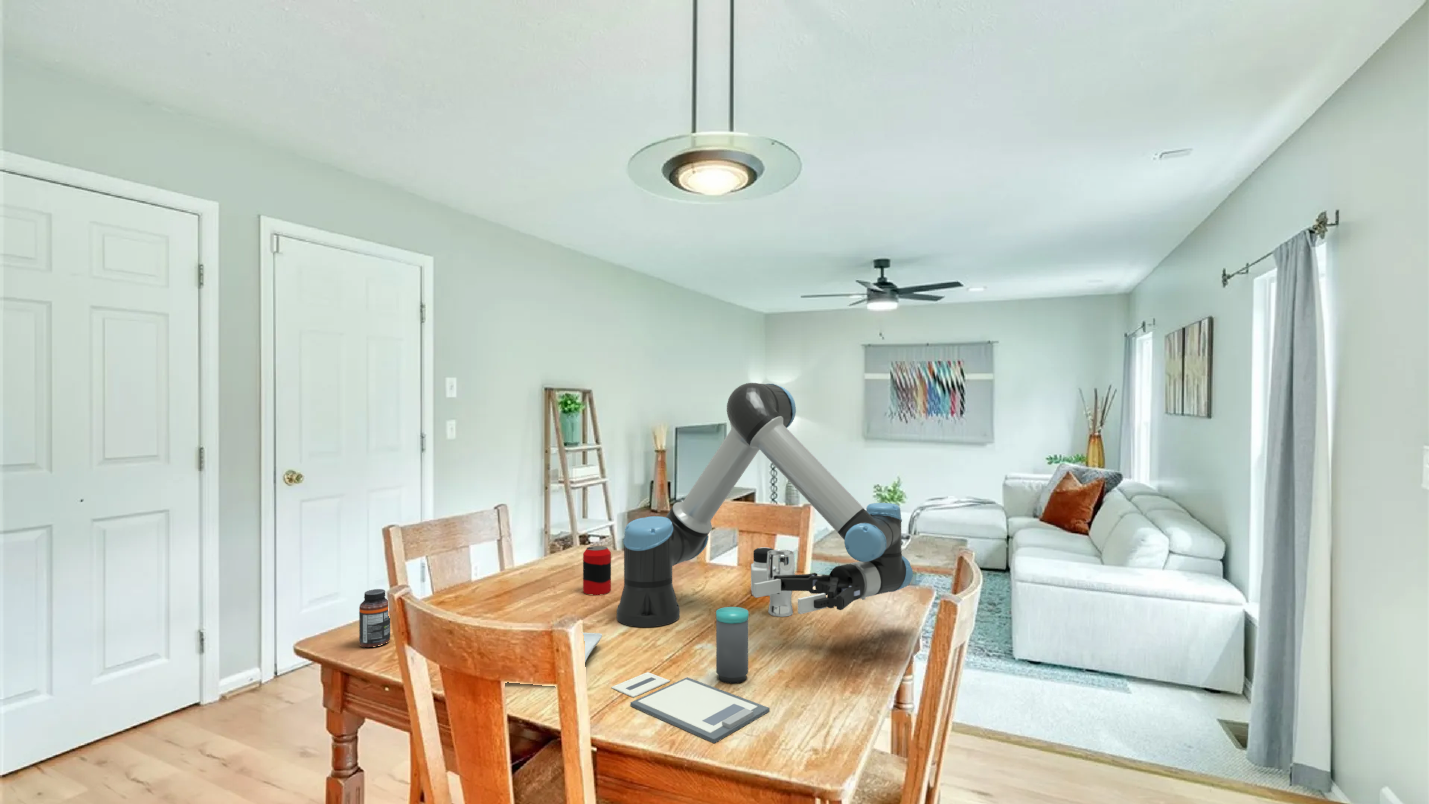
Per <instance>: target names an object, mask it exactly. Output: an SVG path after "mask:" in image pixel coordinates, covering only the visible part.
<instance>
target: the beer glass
mask: <svg viewBox="0 0 1429 804" xmlns="http://www.w3.org/2000/svg"><path fill="white" fill-rule="evenodd" d="M795 563H796V562H795V553H794V551H792V550H789V549H781V548H780V549H774V550H770V551H768V552H767V581H770V580H774V576H775V575H777V576H778V575H796V574H795V573H796V571H795V570H796V567H795V565H796V564H795ZM792 594H793V591H781V593H780V594H777V593H776V594H771V595H770V596H769V605H768V609H767V610H768V611H767V612H768V614H769V616H773V617H779V618H780V617H781V618H784V617H791V616H792V615H793V614H794V609H793V605H792V604H793V602H792V596H793V595H792Z"/></svg>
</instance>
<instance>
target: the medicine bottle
mask: <svg viewBox="0 0 1429 804" xmlns="http://www.w3.org/2000/svg"><path fill="white" fill-rule="evenodd" d="M770 550H775V549H773V548H772V547H764V546H763V547H757V548H754V550H753V563H750V589H751V596H752V597H754V584H755V583H760V582H765V581H767V552H768V551H770ZM767 597H770V595H767Z"/></svg>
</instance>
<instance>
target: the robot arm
mask: <svg viewBox="0 0 1429 804" xmlns="http://www.w3.org/2000/svg"><path fill="white" fill-rule="evenodd" d="M796 412H797V408H796V402H795V399H794V397H793V395H792V394H791V392H789V390H787V389H786V388H785V387H783V386H781V385H777V384H775V383H759V382H758V383H757V382H747V383H744V384H741V385H739V386H737V387H736V388H735V389H734V390H733V391H732V392H731V394H730V395H729V397H728V400H727V403H726V414H727V418H728V420H729V424H730V431H729V432H728V434H727V435H726V436H725V438H724V440H723V441H722V442H721V444H720V446H719V447H718V449H717V450H716V451H715V453H714V455H713V456H712V458H711V459H710V461H709V462H708V464H707V465H706V466H705V468H704V469H703V471H702V472H701V474H700V476H699V477H698V478H697V480H696V481H695V483H694V485H693V486H692V488H691V489H690V490H689V492H688V494H686V497H684V499H683V501H677V502H675V503H674V504H673V506H672V507H671V508H670V509H669V512H668V513H667V515H666V516H654V515H652V516H651V515H650V516H645V517H639V518H636V519H634V520H631V521H630V522H628V523H627V524H626V526H625V527H624V532H623V533H624V535H623V539H622V540H623V541H622V542H623V587H622V588H623V589H622V592H621V596H620V600H619V604H618V605H617V608H616V621H618V622H619V623H621V624H623V625H626V626H631V627H636V628H637V627H638V628H651V627H653V628H654V627H660V626H665V625H669V624H672V623H675V622H677V621H678V620H679V619H680V605H679V603H678V599H677V597H676V593H675V589H674V586H673V585H674V584H673V567H674V566H676V565H678V564H682V563H684V562H687V561H690V560H693V559H695V558H696V557H697V556H698V555H700V554H701V553H702V552H703V551H704V550H705V549H706V547H707V546H708V542H709V534H710V533H711V531H712V528H713V526H712V522H711V520H712V519H713V517H714V516H715V515H716V514H717V512H718V511H719V510H720V508H721V506H722V505H723V504H724V502H725V501H726V499H727V498H728V496H729V495H730V493H731V492H732V490H733V488H734V487H735V486H736V484H737V483H738V482H739V480H740V479H741V477H742V475H743V474H744V473H745V472H746V470H747V468H748V467H749V466H750V464H751V463H752V461H753V460H754V458H755V457H756V456H757V454H758V453H759V451H760V452H761V453H763V455H764V456H765V457H766V459H768V460H769V461H770V462H771V463H772V465H774V467H776V468H777V470H778V471H779V472H780V473H781V474H782V475H783V476H784V477H785V479H787V480H788V481H789V482H790V484H791V485H792V486H793V488H795V489H796V490H797V491H798V492H799V494H801V495H802V496H803V498H805V500H806V501H807V502H808V503H809V504H810V505H811V506H812V507H813V508H814V509H815V510H816V511H817V512H818V514H820V516H821V517H822V518H823V519H824V520H825V521H826V522H827V523H828V524H829V525H830V526H831V528H832V529H834V531H835V532H836V533H837V534H839V536H840V537H841V538H842V540H844V547H845V550H846V552H847V553H848V555H849V556H850V557H851V558H852V559H854V560H855V561H854V562H851V563H846V564H839V565H837V566H835V567H833V568H832V570H831V571H830V572H829V574H821V575H818V573H816V572H811V573H806V574H805V573H803V574H795V575H778V576H777V575H775V576H774V580H770V581H765V582H760V583H755V584H754V596H753V597H754V598H761V597H766V596H767V595H771V594H776V593H777V594H780V593H781V591H792V592H809V593H810V594H812V595H809V596H804V597H798V598H797V613H798V614H800V615H803V614H807V613H811V612H815V611H818V610H823V609H827V608H828V609H834V608H835V607H836V610H837V611H843V610H844V609H845V608H847V607H848V606H849V605H850V604H851V603H853V602H854V601H857V600H859V599H860V600H866V598H869V597H873V596H876V595H880V594H881V595H883V594H886V593H893V592H896V591H899V590H902V589H904V588H906V587H907V586H909V585H910V584H911V582H912V580H913V576H914V571H913V567H912V566H911V562H910V561H909V560H908V559H907V557H905V556H904V555H903V553H902V521H903V519H902V514H901V513H902V512H901V511H902V510H901V508H900V506H899V505H898V504H895V503H889V502H873V503H869V504H868V505H867V506H866V509H865V507H863V505H861V503H859V502H858V500H857V499H856V498H855V497H854V496H853V495H852V494H851V493H850V492H849V491H848V490H847V489H846V488H845V487H844V486H843V485H842V484H841V483H840V482H839V480H837V478H836V477H834V475H832V473H831V472H830V471H828V469H827V468H826V467H825V466H824V465H823V464H822V463H821V462H820V461H819V460H818V459H817V458H816V457H815V456H814V455H813V454H812V452H810V451H809V450H808V448H806V447H805V445H804V444H803V443H801V442H800V440H799V439H798V438H797V437H796V436H795V435H794V434H793V433H792V432H791V431H790V430H789V429H788V428H789V427H790V426H791V425H792V423H793V422H794V420H795V418H796ZM814 588H815V589H814ZM767 597H768V596H767Z"/></svg>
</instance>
